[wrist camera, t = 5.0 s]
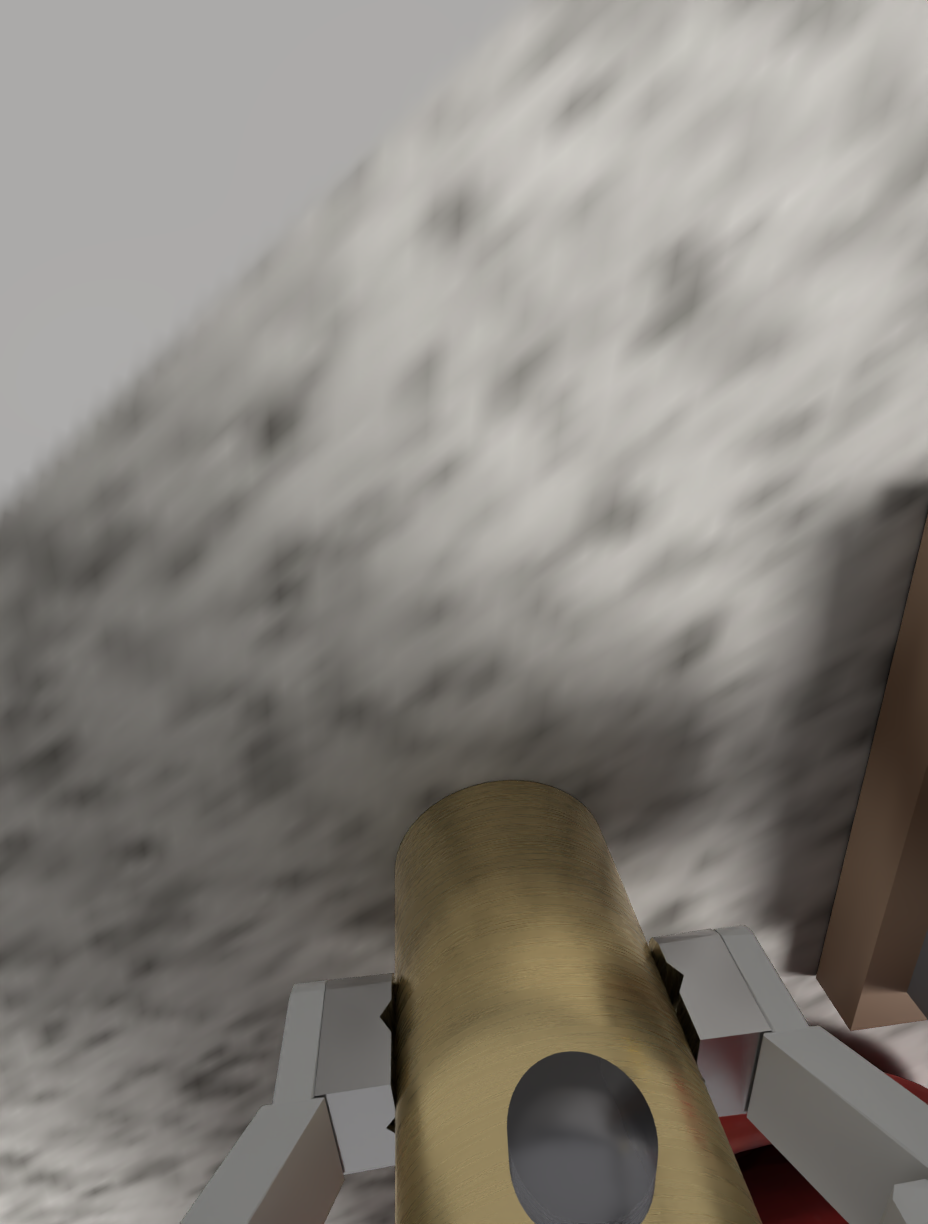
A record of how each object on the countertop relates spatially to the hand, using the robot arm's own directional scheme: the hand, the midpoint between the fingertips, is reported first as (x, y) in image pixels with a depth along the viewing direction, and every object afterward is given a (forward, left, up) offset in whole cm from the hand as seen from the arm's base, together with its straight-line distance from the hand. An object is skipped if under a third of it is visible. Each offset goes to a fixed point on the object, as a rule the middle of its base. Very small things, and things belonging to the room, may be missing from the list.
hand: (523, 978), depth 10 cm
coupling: (0, 0, -2) cm, 2 cm away
